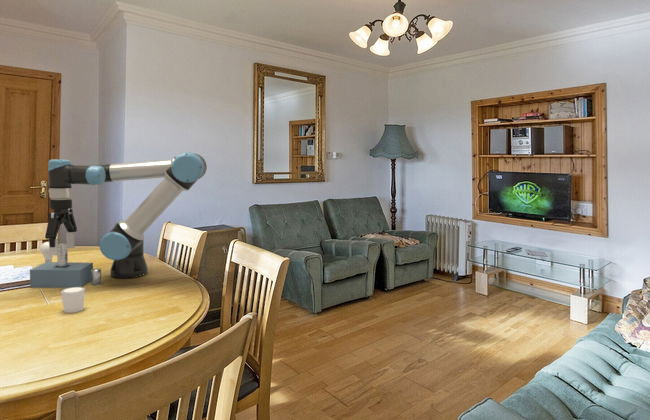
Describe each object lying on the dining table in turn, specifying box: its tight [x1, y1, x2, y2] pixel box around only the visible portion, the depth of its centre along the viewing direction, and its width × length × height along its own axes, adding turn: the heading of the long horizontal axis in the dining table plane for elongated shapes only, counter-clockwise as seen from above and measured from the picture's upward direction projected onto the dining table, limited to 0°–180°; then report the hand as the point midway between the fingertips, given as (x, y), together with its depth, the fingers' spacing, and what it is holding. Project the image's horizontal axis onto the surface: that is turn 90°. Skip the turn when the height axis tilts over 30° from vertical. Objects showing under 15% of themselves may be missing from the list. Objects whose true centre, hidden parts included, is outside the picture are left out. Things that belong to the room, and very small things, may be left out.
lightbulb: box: [39, 241, 54, 263], centre depth 189 cm, size 6×6×11 cm
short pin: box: [90, 268, 102, 286], centre depth 165 cm, size 4×4×6 cm
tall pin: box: [56, 242, 69, 268], centre depth 164 cm, size 4×4×16 cm
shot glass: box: [60, 286, 86, 314], centre depth 137 cm, size 7×7×7 cm
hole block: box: [29, 261, 94, 289], centre depth 164 cm, size 18×12×7 cm, turn 98°
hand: (62, 251), depth 163 cm, fingers open, 13 cm apart
